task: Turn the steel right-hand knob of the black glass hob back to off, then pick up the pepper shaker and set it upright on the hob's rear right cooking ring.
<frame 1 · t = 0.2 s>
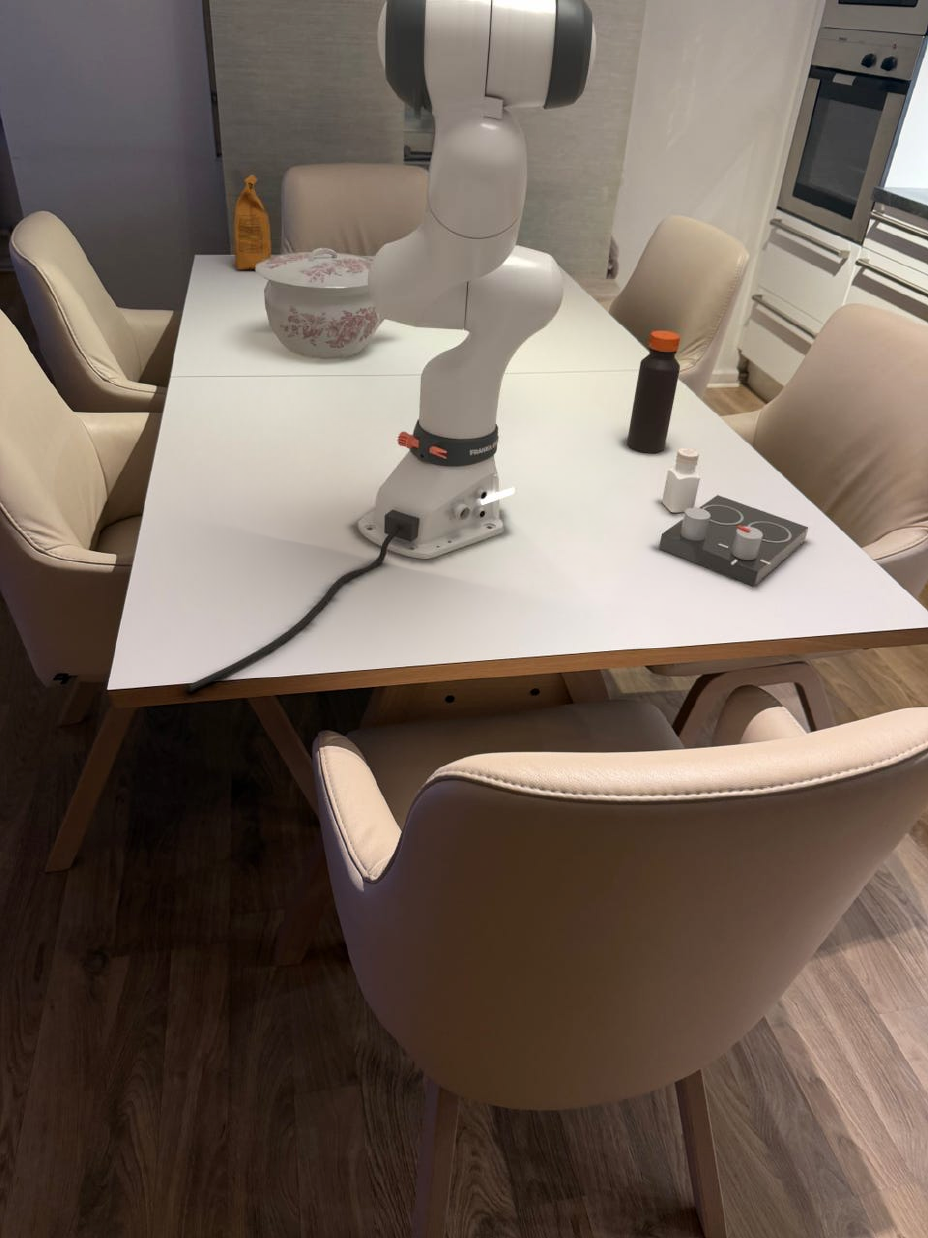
hand: (469, 100, 147), 52 cm above the table, tool tilted 20°, fingers open, 8 cm apart
bottle: (645, 446, 171), on the table
hob zones: (736, 530, 140), resting on hob
pepper shaker: (676, 508, 151), on the table
hob knob: (747, 542, 133), point 4 cm above the table, hinge at 90.0°
chamber pot: (326, 349, 204), on the table
hob: (732, 545, 142), on the table
coffee package: (254, 266, 257), on the table
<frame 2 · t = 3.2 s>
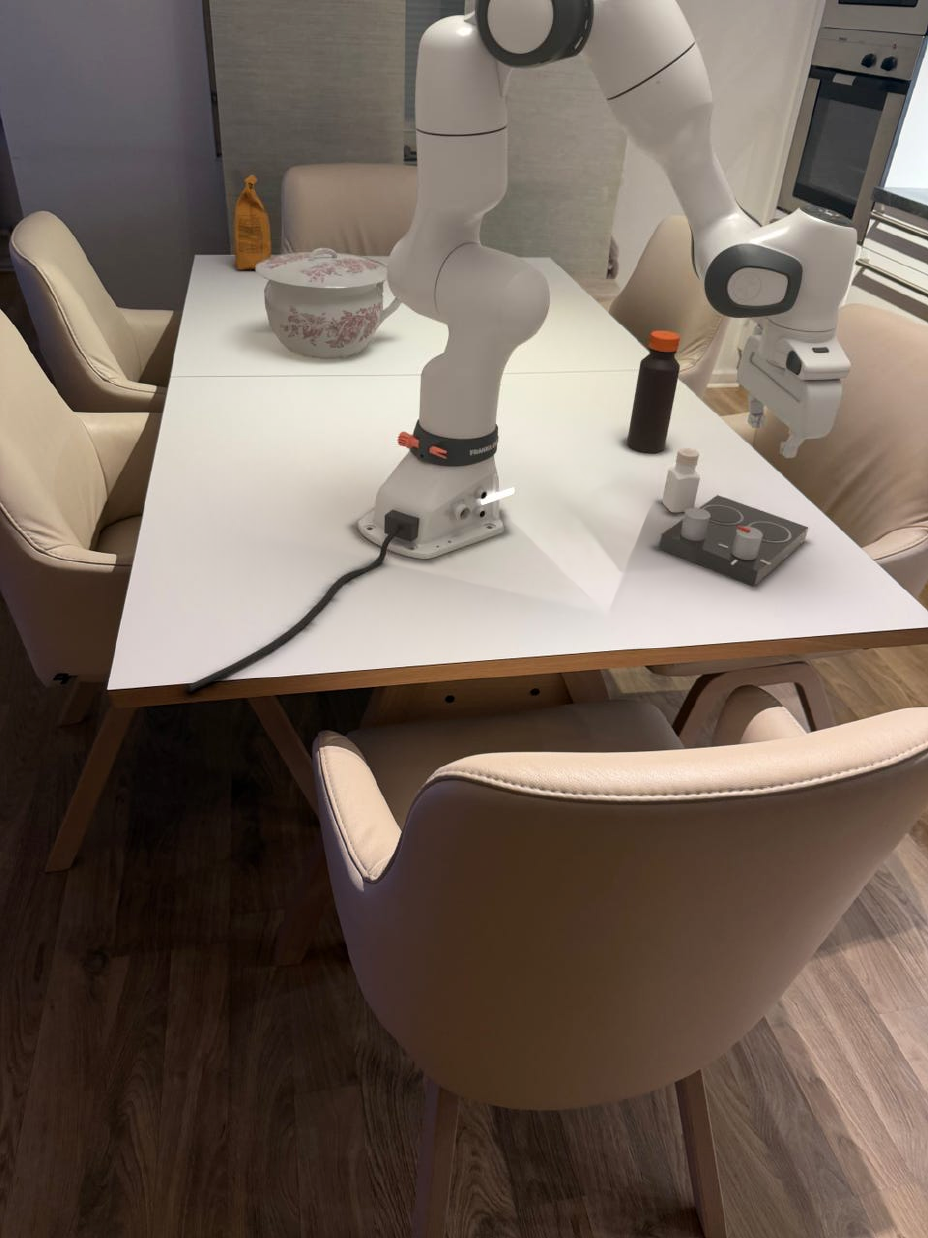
hand: (770, 440, 132), 17 cm above the table, tool pointing down, fingers open, 8 cm apart
nothing on the table moved.
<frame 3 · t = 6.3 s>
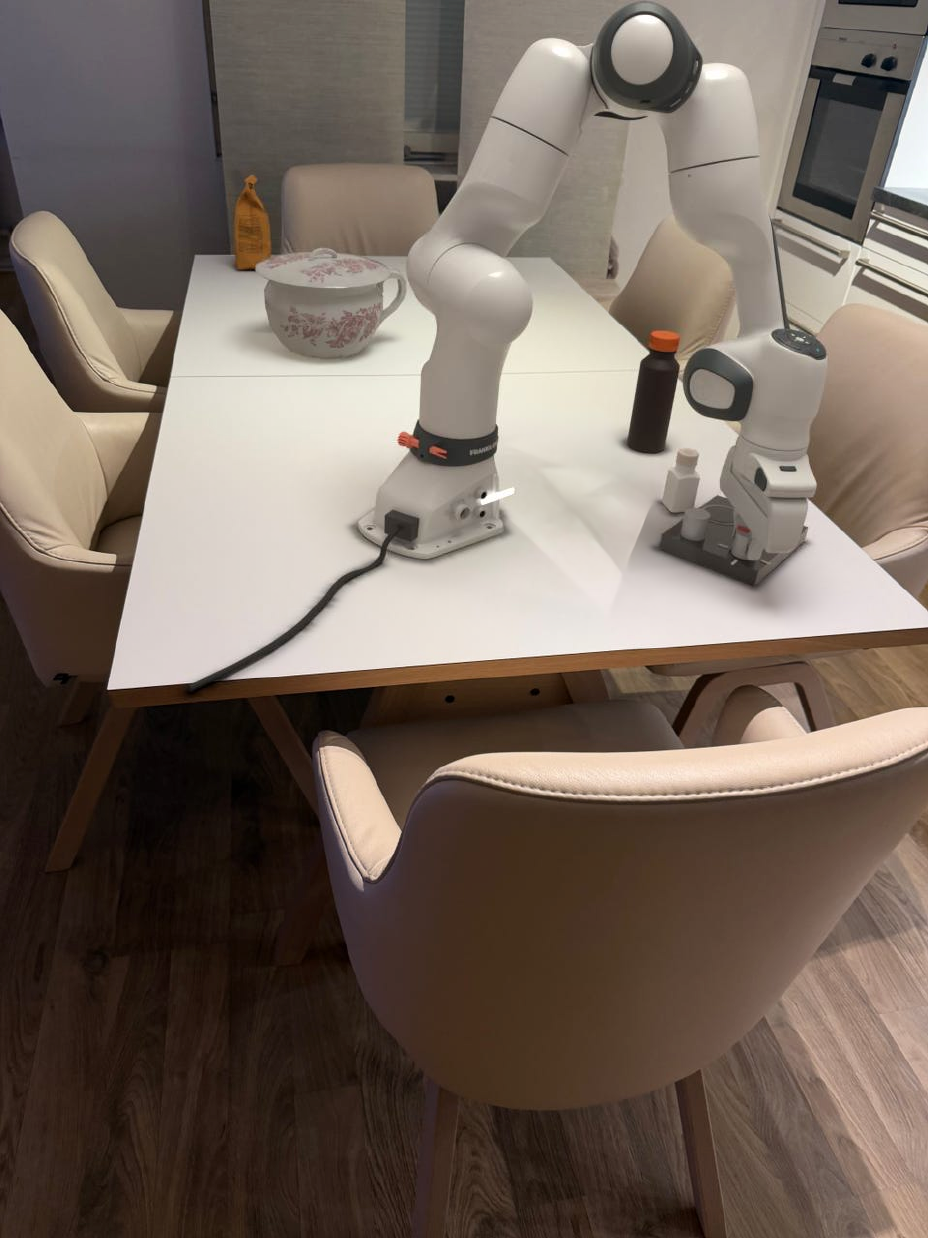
hand: (745, 548, 134), 3 cm above the table, tool pointing down, fingers closed on hob knob, 3 cm apart
hob knob: (747, 542, 133), point 4 cm above the table, hinge at 89.8°, touching gripper
everything else where it was.
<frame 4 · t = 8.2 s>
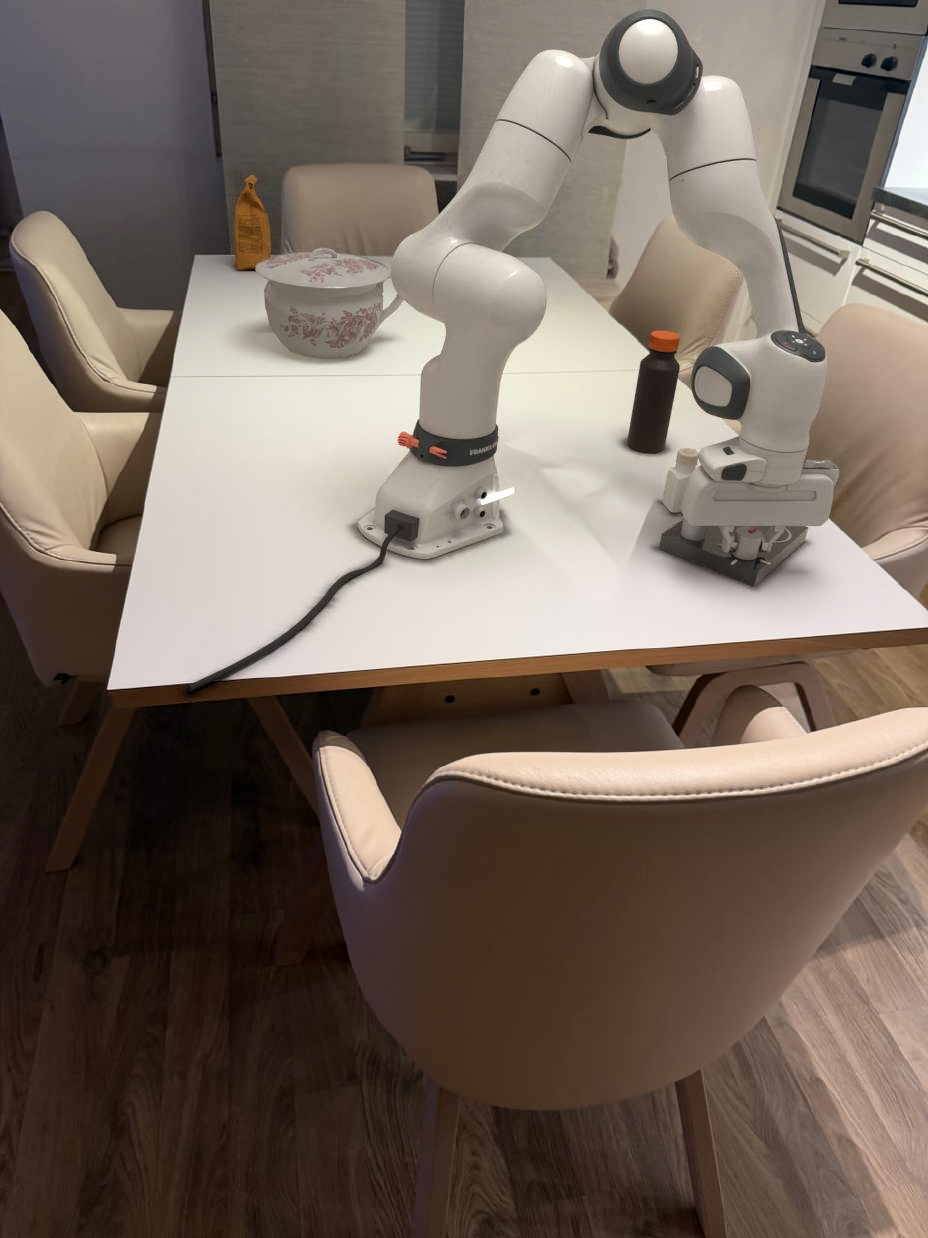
hand: (745, 550, 134), 3 cm above the table, tool pointing down, fingers open, 4 cm apart
hob knob: (747, 542, 133), point 4 cm above the table, hinge at -0.7°
everything else where it was.
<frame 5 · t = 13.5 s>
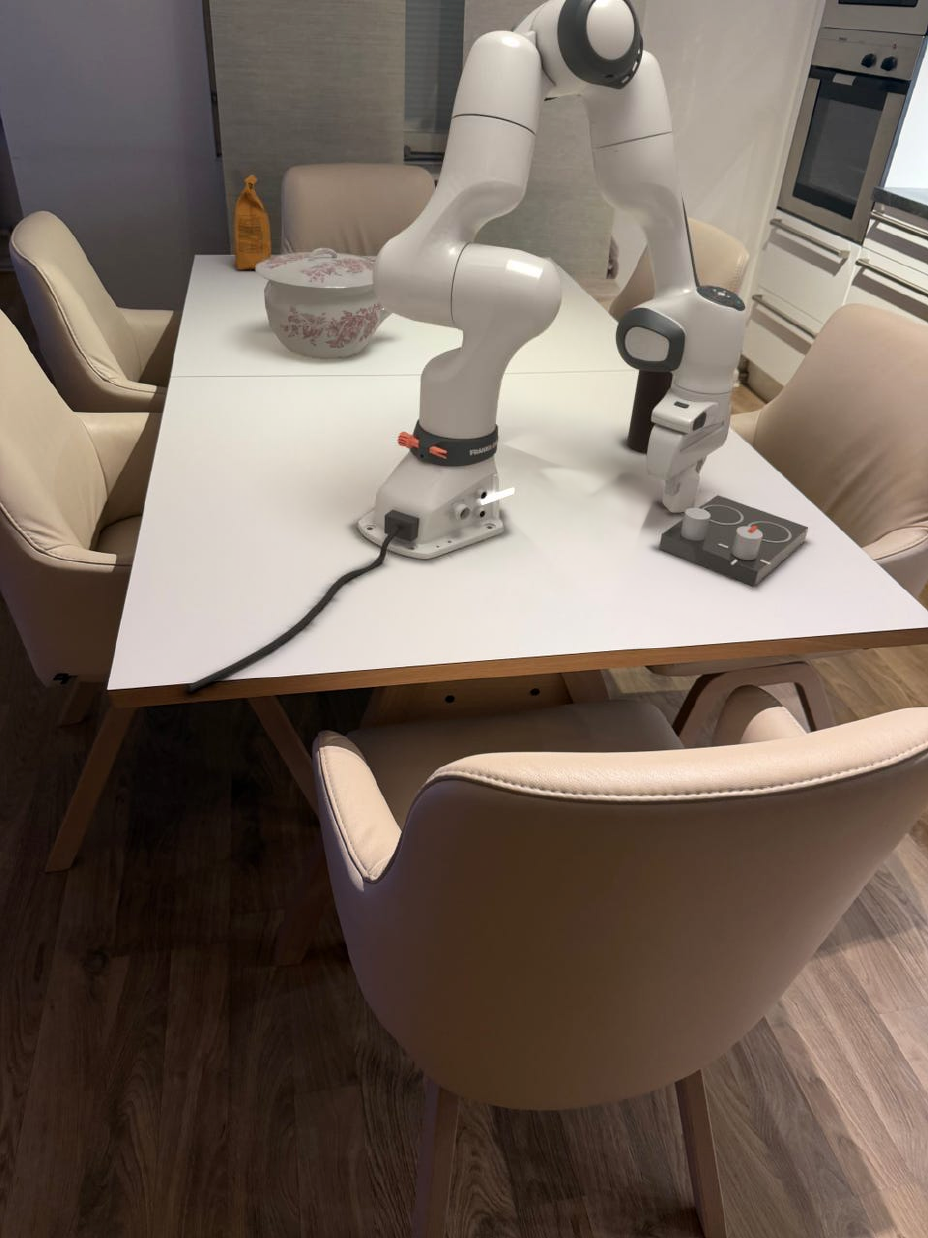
hand: (680, 487, 149), 4 cm above the table, tool pointing down, fingers closed on pepper shaker, 5 cm apart
pepper shaker: (676, 508, 151), on the table, touching gripper
everything else where it was.
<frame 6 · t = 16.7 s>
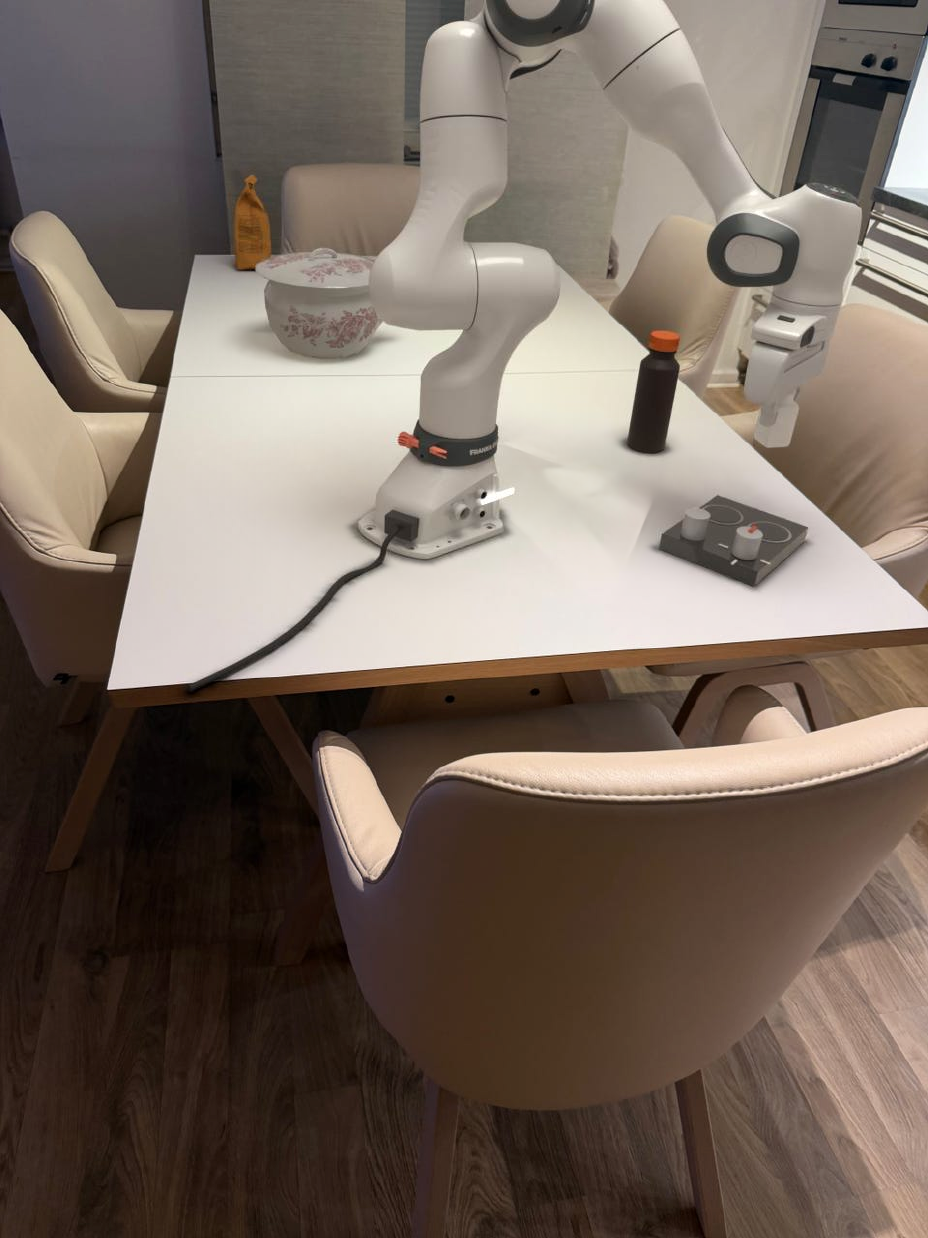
hand: (775, 418, 134), 19 cm above the table, tool pointing down, fingers closed on pepper shaker, 5 cm apart
pepper shaker: (770, 444, 136), point 15 cm above the table, touching gripper
everything else where it was.
when the fingers open (6 cm above the table, at t = 20.2 s): pepper shaker stays where it is, resting on hob zones.
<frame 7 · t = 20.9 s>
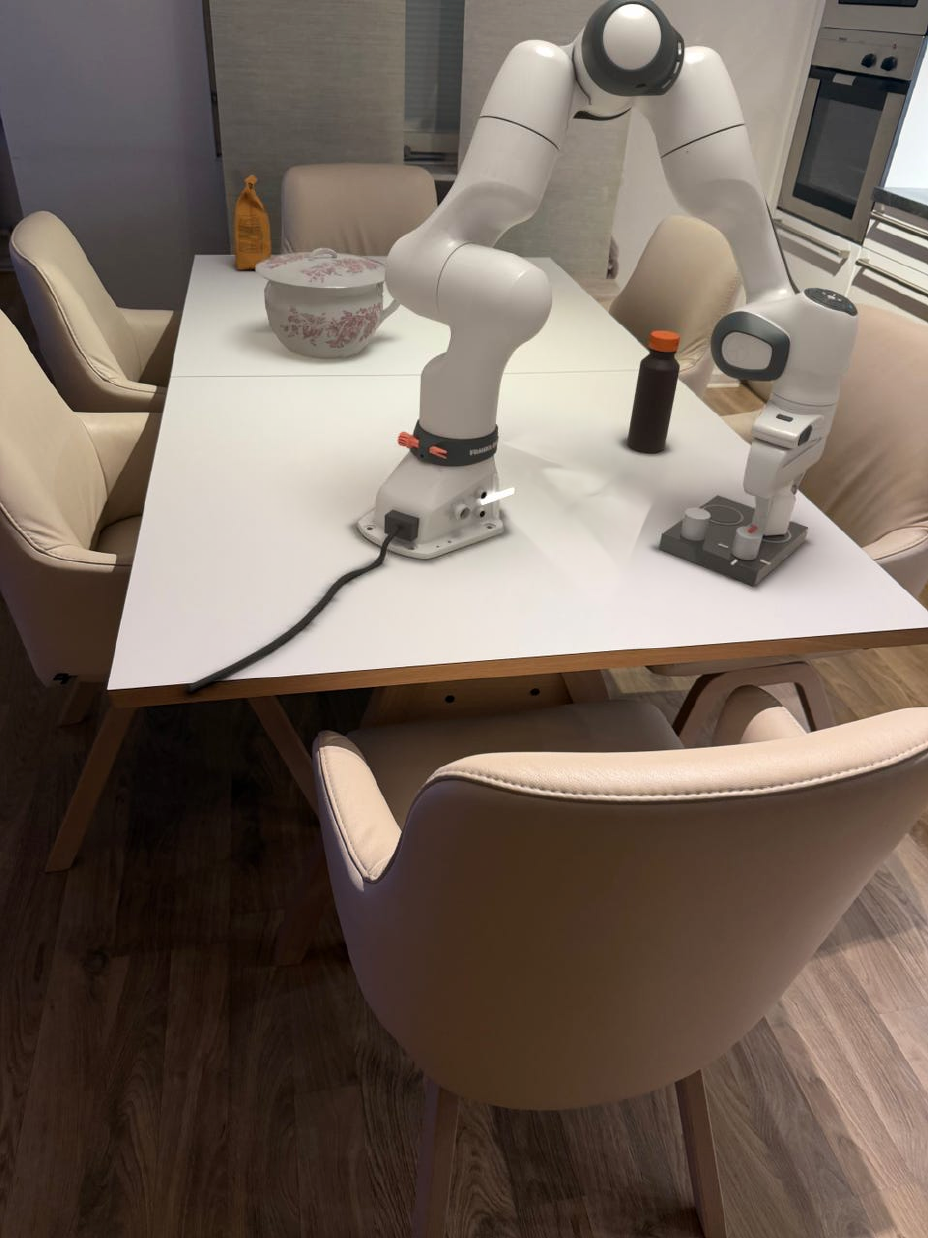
hand: (775, 505, 138), 7 cm above the table, tool pointing down, fingers open, 8 cm apart
pepper shaker: (768, 531, 141), point 3 cm above the table, touching hob zones
everything else where it was.
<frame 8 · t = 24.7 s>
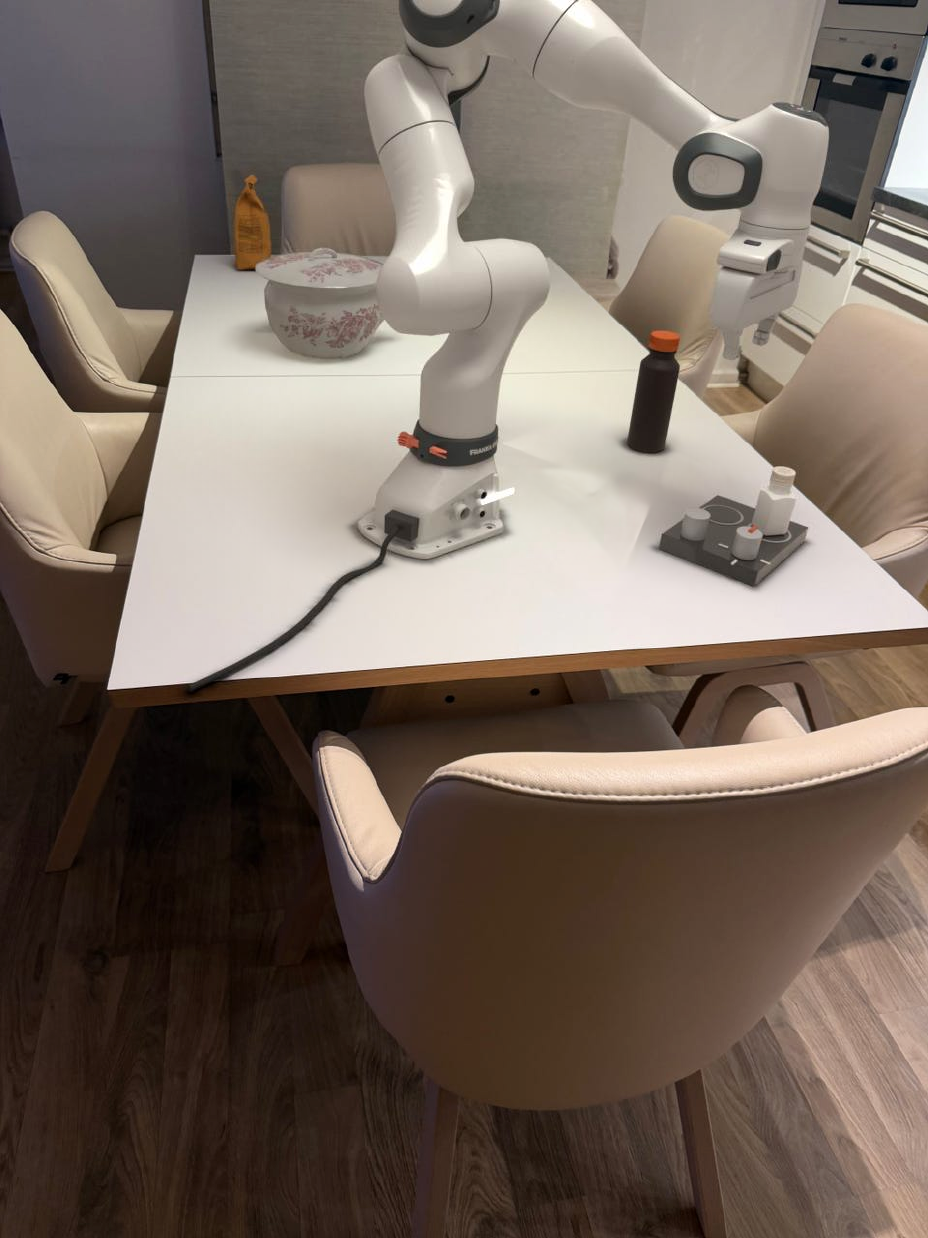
hand: (745, 350, 132), 27 cm above the table, tool pointing down, fingers open, 8 cm apart
nothing on the table moved.
at the end: hob knob at -1° (first picture: +90°); pepper shaker 0.4 cm from the target spot on the hob, point 2.5 cm above the hob's base; pepper shaker tilted 0° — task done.
